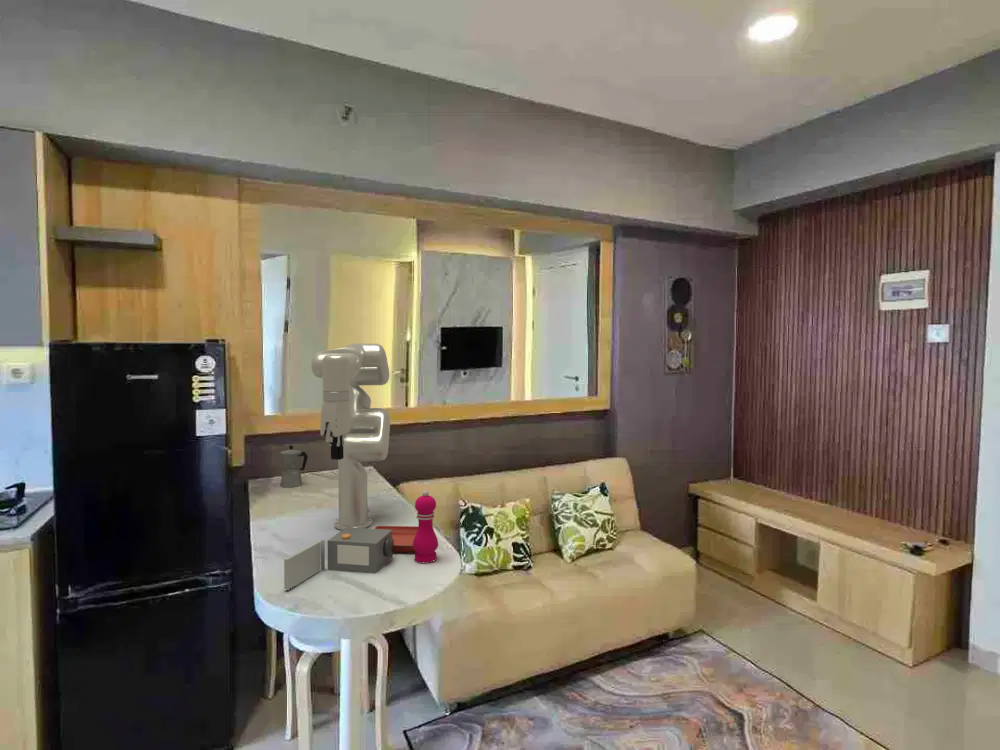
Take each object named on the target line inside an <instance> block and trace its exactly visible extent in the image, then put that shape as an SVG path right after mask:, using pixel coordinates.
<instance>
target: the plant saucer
mask: <svg viewBox="0 0 1000 750" xmlns="http://www.w3.org/2000/svg"><path fill="white" fill-rule="evenodd" d="M374 529H387V530H392V539H393V541H394V549H393V553H403V552H416V551H415V550H414V548H413V541H414V537H415V535H416V533H417V530H418V526H410V525H409V526H407V525H406V526H405V525H404V526H403V525H398V526H397V525H376V526H375V528H374Z"/></svg>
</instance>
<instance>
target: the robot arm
mask: <svg viewBox="0 0 1000 750" xmlns="http://www.w3.org/2000/svg"><path fill="white" fill-rule="evenodd" d="M310 364H311V371H312V373H313V375H314V376H315V377H316V378H321V379H322V405H321V411H320V429H319V430H320V431H319V432H320V436H321V437H325V442H326V443H329V447H330V459H331V460H335V461H336V460H337V467H338V469H337V470H338V519H337V520H336V521H334V523H333V524H334V525H333V527H334V529H337V530H339V531H342V530H343V529H345V528H346V527H354V528H368V527H371V526H372V525H373V520H372V519H371V518H369V517H368V513H370V511H371V508H370V507H368V472H367V470H366V468H365V467H364V466H363V465H362V462H381V461H384V460H386V458H387V456H388V454H389V453H388V452H389V445H390V443H389V442H390V430H391V418H390V412H389V411H388V410H387V409H385V408H382V407H371V404H372V400H371V397H370V395H369V394H368V393H367V391H365V390H364V388H361V387H360V386H383V385H384V386H385V385H386V384H387V383H389V380H390V367H389V363H388V357H387V353H386V350H385V349H384V346H383V345H382V344H379V343H350V344H348V345H347V346H345V347H338V348H332V349H325V350H320V351H318V352H317V353H315V354H314V356H313V357H312V360H311V363H310Z"/></svg>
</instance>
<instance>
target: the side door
mask: <svg viewBox="0 0 1000 750" xmlns="http://www.w3.org/2000/svg"><path fill="white" fill-rule="evenodd" d="M325 544H326V542H325V540H324V539H321V540H320V541H315V542H314V543H312V544H310V545H308V546H305V547H304V548H302V549H300V550H298V551H297V552H295V553H293V554H291V555H288V556H287V557H286V558H284V559H283V565H284V566H283V567H284V568H283V571H284V573H283V574H284V576H283V577H284V581H283V582H284V583H283V584H284V585H283V586H284V587H283V588H284V589H286V590H288V591H289V589H290V588H291V589H293V588H294V586H295V587H296V586H298V585H299V584H301V583H303V582H305V581H306V580H308V579H309V578H311V577H312V576H314V575H316V574H317V573H319V572H320V571H321V570H325V569H326V559H325V557H326V556H325V555H326V553H325V551H326V550H325V549H326V548H325V547H326V545H325ZM292 587H293V588H292ZM291 589H290V590H291ZM286 590H285V591H286Z"/></svg>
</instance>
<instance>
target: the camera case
mask: <svg viewBox="0 0 1000 750" xmlns="http://www.w3.org/2000/svg"><path fill="white" fill-rule="evenodd" d="M393 549H394V541H393V539H392V530H387V529H375V528H372V527H371V528H368V527H367V528H354V527H346V528H345V529H343V530H340V531H339V532H337V533H336V534H334V536H332V537H330V538H329V539H327V570H330V571H341V572H342V571H343V572H344V571H345V572H355V571H357V572H358V573H371V574H377V573H378V572H379V571H381V569H382V568H383V567H384V566H385V565H386V564H387V563H388V562H389V561H390V560H391V559H392V558H393V554H394V552H393ZM357 572H356V573H357Z"/></svg>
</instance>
